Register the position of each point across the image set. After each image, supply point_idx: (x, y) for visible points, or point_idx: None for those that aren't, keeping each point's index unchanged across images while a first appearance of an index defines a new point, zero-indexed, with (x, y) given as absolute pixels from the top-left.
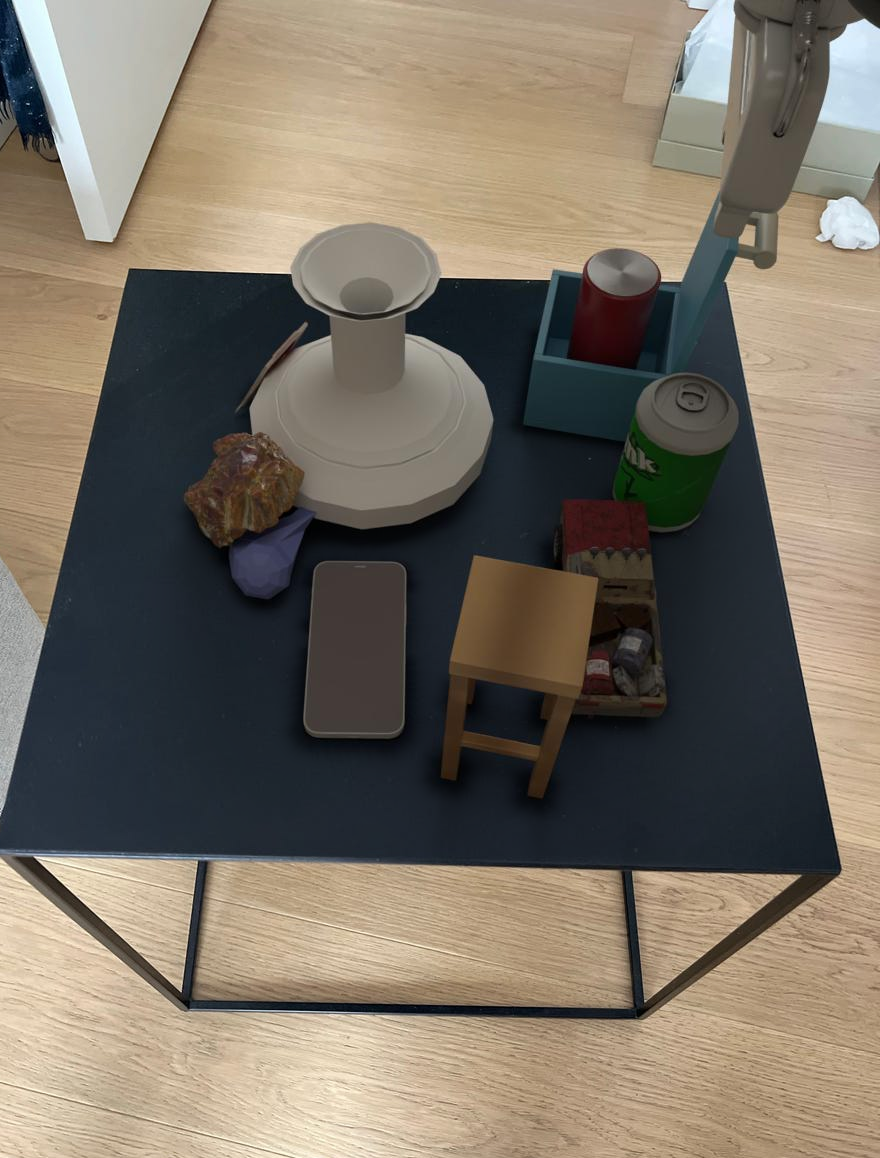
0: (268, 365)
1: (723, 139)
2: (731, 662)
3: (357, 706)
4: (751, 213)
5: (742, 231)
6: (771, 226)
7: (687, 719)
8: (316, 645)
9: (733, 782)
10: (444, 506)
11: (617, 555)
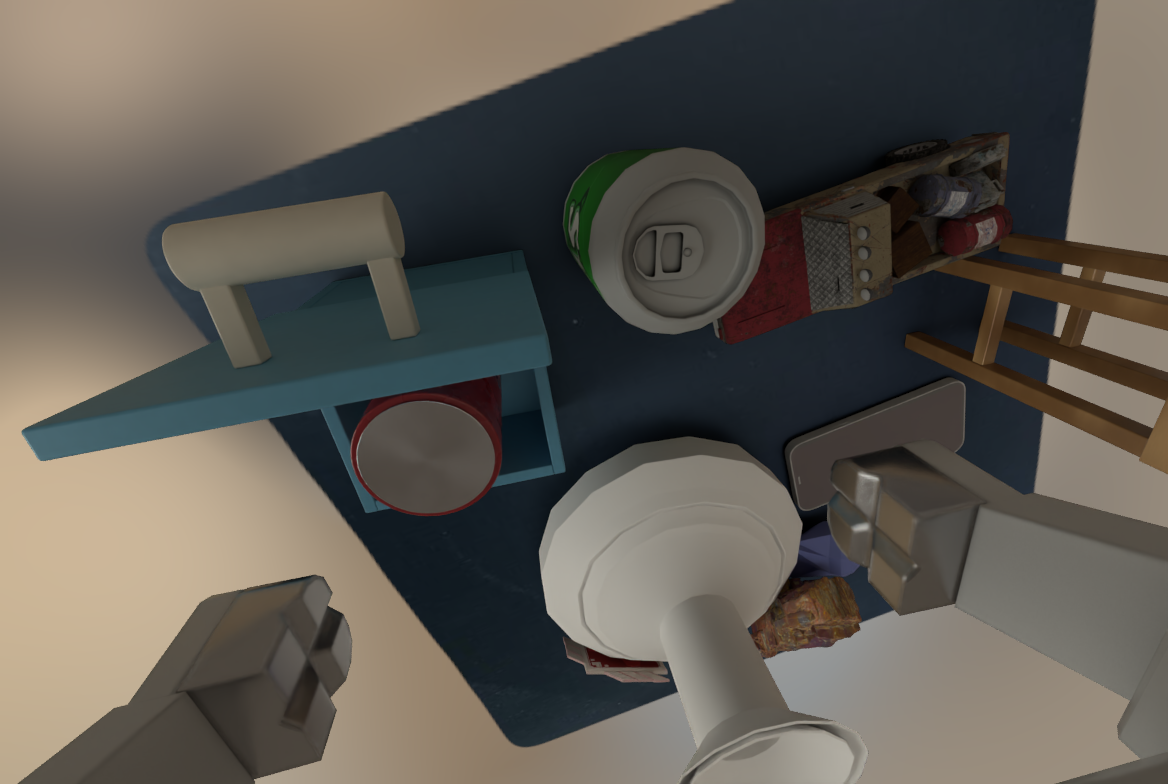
0: (663, 671)
1: (347, 665)
2: (846, 50)
3: (939, 422)
4: (1063, 501)
5: (945, 449)
6: (260, 244)
7: (927, 95)
8: None
9: (1006, 14)
10: (746, 452)
11: (857, 261)
